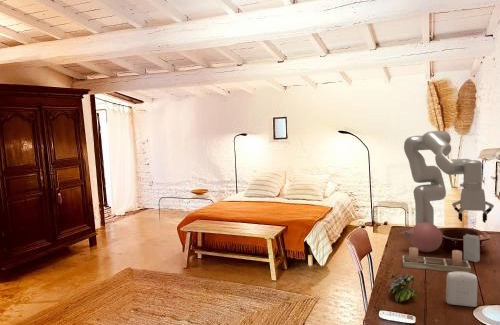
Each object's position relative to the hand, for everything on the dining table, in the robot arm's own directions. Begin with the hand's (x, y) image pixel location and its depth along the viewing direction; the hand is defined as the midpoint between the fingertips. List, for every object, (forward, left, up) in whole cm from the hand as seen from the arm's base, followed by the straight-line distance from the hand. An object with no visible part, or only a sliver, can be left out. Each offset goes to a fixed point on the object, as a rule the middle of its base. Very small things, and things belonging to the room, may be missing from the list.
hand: (472, 221), depth 181 cm
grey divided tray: (+13, -17, -19) cm, 29 cm away
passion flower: (+50, -31, -20) cm, 62 cm away
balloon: (-8, -22, -19) cm, 31 cm away
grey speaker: (+50, -11, -20) cm, 55 cm away
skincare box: (0, 0, -19) cm, 19 cm away
